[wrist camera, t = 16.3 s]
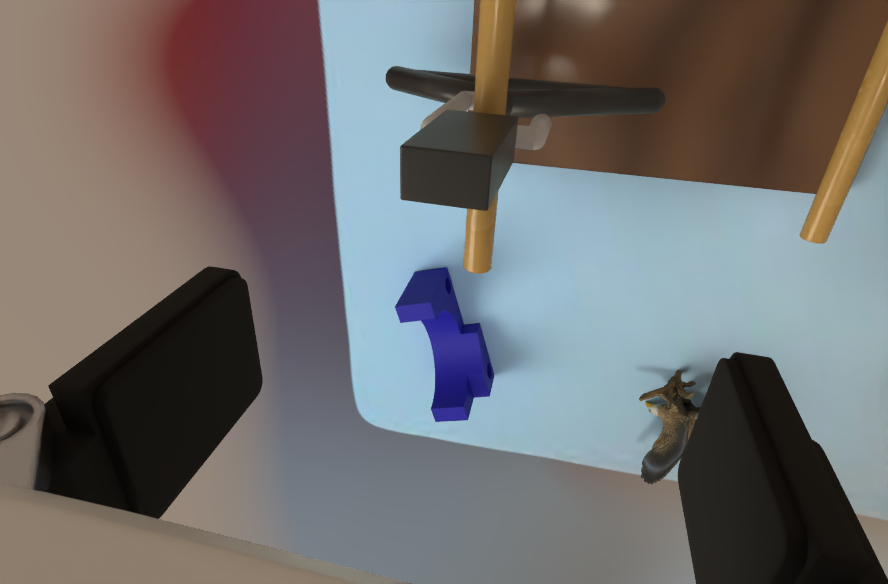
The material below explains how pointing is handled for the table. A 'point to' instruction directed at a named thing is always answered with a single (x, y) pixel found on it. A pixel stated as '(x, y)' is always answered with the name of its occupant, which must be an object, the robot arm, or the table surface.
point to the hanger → (491, 130)
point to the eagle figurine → (669, 427)
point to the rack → (695, 92)
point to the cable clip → (448, 344)
